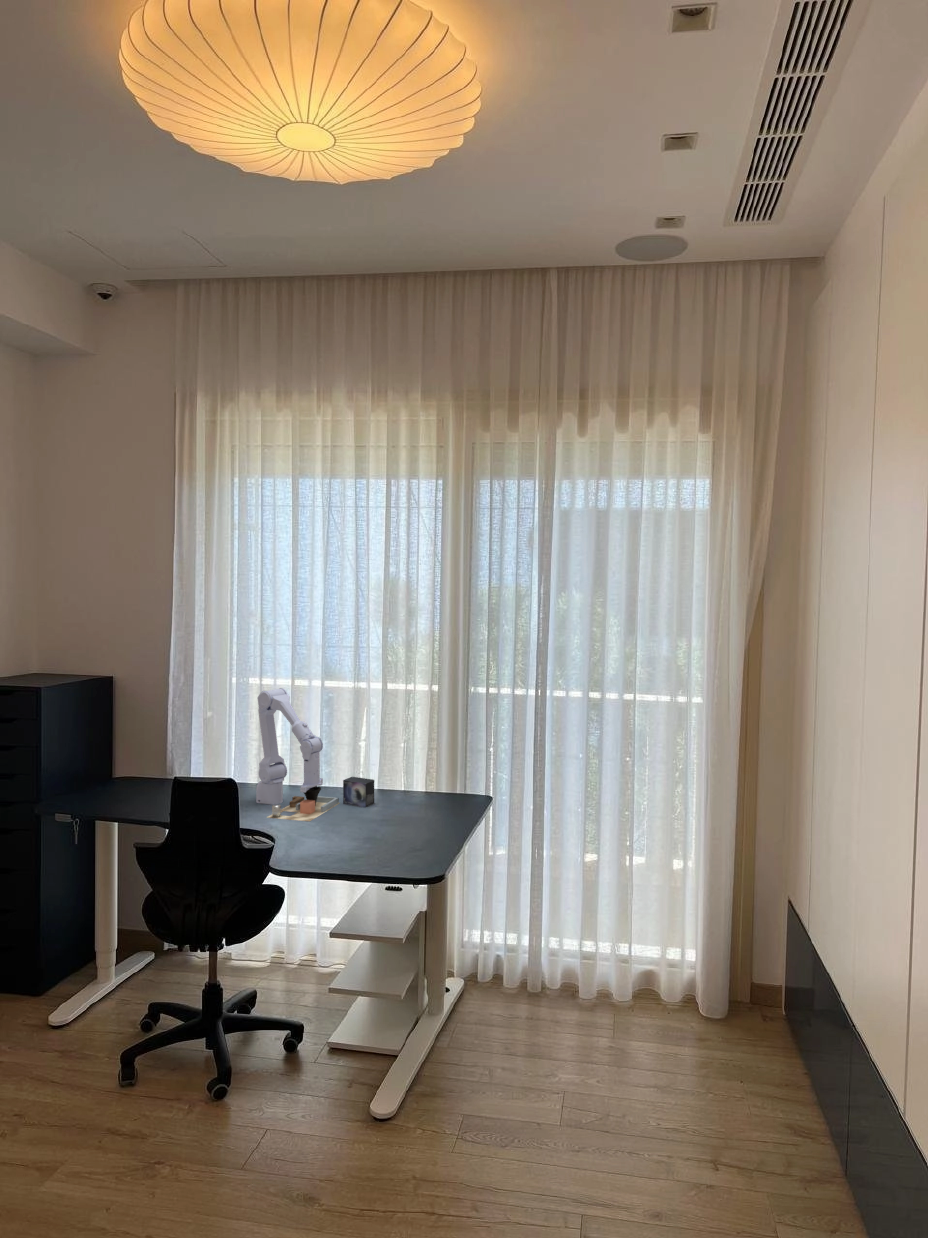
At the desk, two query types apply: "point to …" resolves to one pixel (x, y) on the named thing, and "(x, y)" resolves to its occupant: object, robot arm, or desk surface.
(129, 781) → the desk surface
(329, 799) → the grey rectangular frame
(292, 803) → the walnut bar
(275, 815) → the grey metal peg
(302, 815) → the birch board
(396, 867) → the desk surface
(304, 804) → the coral cube
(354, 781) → the small box
